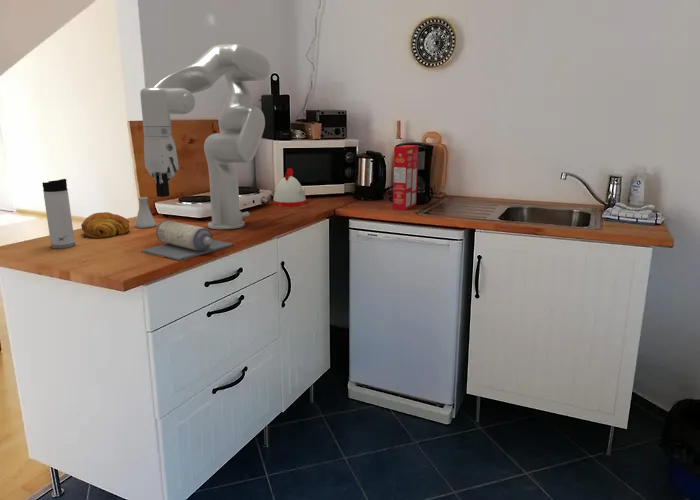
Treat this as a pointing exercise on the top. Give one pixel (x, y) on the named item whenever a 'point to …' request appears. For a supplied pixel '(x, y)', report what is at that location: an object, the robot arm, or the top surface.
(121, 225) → the croissant
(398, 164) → the food packaging
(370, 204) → the top surface
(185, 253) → the mat
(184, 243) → the aerosol can
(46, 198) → the travel mug
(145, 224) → the flask
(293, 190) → the kitchen timer
